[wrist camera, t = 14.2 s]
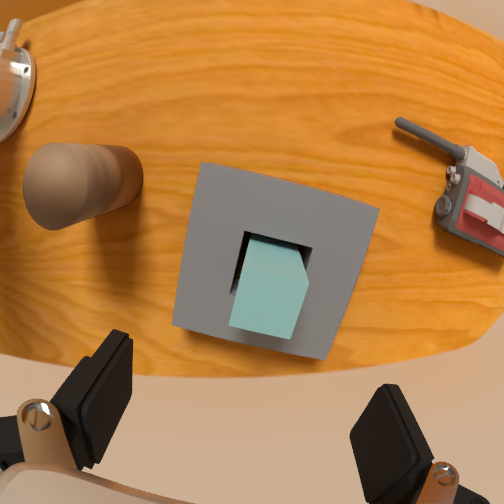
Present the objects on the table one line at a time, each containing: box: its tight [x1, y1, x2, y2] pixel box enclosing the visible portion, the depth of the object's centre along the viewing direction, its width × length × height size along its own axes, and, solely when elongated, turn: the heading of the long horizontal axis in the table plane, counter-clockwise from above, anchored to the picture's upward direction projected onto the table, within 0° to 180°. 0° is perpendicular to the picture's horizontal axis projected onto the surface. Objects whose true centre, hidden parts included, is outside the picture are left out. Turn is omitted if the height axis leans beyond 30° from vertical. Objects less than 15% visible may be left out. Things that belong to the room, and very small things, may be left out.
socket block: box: [172, 162, 380, 360], centre depth 26 cm, size 14×14×4 cm
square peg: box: [228, 233, 309, 339], centre depth 23 cm, size 4×4×10 cm
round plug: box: [23, 143, 143, 230], centre depth 22 cm, size 6×6×10 cm
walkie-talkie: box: [395, 117, 504, 257], centre depth 23 cm, size 9×4×20 cm
